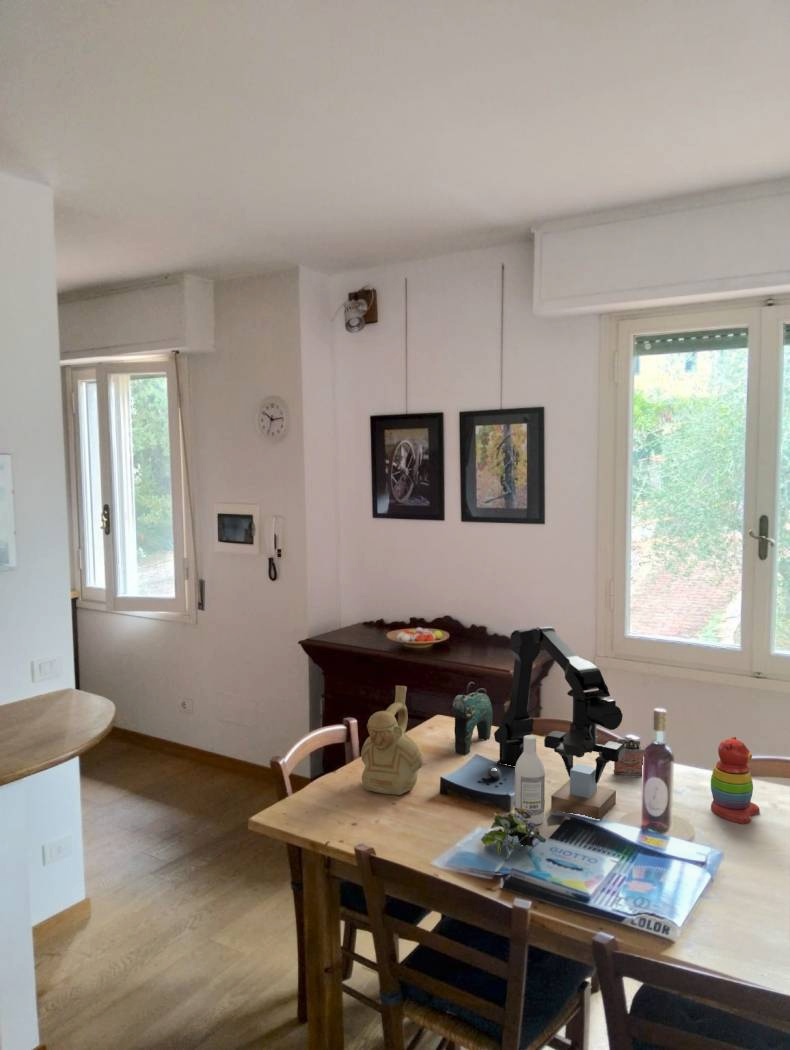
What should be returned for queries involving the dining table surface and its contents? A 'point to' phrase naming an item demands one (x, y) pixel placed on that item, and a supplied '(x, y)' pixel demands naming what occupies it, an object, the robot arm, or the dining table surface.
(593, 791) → the slate block
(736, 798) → the stacking bear
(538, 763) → the bath foam
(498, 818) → the green leafy plant
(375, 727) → the ceramic vessel
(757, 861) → the dining table surface
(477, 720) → the green elephant figurine
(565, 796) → the walnut slab
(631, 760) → the lighter
